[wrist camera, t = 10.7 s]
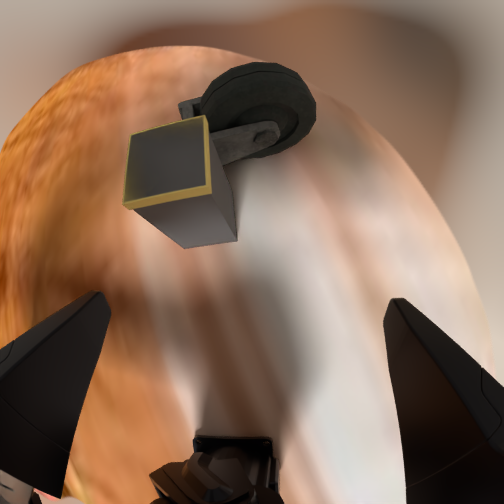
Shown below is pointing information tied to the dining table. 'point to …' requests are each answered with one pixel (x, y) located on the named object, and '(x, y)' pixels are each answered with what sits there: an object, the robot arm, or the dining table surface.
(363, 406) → the dining table surface
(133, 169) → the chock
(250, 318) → the dining table surface
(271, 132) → the caster wheel
